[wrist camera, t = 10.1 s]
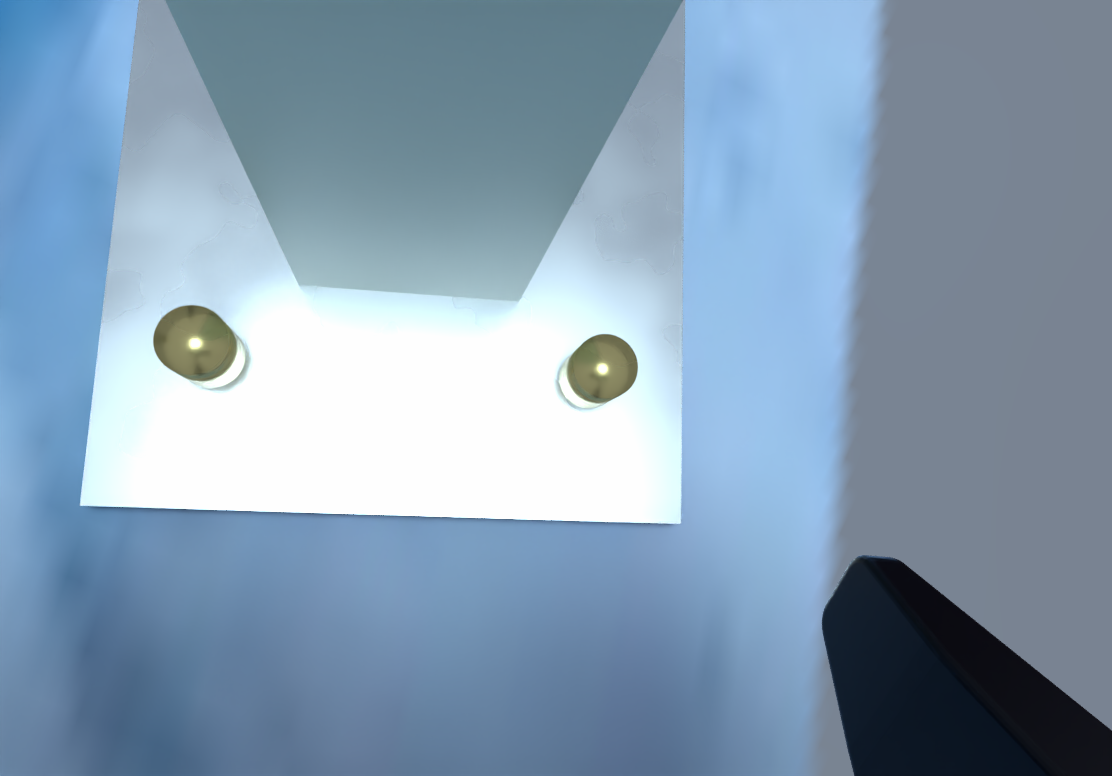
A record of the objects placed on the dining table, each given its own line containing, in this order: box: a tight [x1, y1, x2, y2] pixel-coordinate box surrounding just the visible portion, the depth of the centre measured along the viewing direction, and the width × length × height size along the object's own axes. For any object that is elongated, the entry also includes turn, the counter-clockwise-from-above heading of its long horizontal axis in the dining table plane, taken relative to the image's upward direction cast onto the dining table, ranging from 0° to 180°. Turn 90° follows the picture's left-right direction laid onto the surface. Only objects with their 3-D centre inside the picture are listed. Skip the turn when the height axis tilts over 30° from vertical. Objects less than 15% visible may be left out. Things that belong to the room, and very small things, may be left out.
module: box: [165, 0, 683, 301], centre depth 13 cm, size 6×5×13 cm
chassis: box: [80, 0, 685, 524], centre depth 19 cm, size 16×13×2 cm
